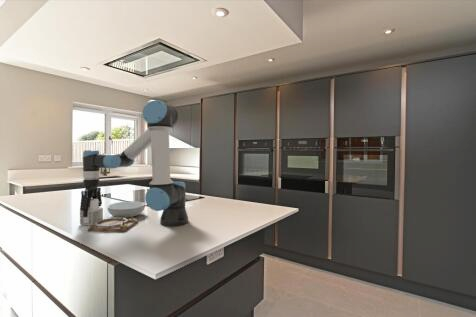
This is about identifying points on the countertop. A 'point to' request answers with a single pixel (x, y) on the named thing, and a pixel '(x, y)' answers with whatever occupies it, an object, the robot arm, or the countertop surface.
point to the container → (93, 212)
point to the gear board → (113, 225)
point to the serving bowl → (126, 209)
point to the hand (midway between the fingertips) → (91, 220)
